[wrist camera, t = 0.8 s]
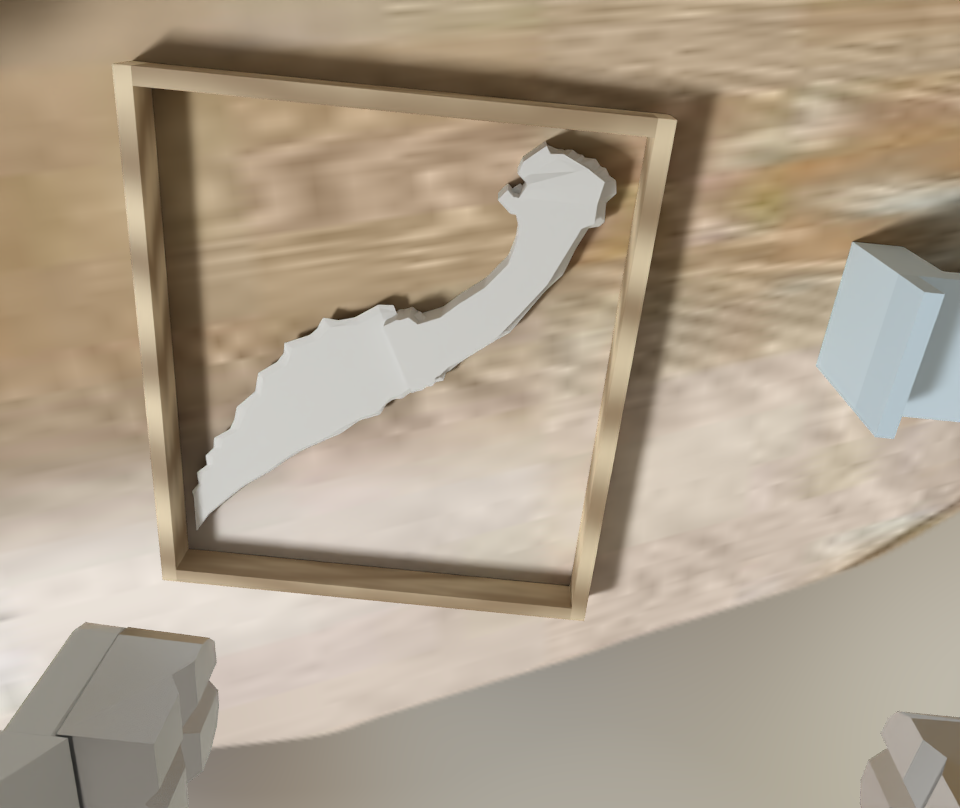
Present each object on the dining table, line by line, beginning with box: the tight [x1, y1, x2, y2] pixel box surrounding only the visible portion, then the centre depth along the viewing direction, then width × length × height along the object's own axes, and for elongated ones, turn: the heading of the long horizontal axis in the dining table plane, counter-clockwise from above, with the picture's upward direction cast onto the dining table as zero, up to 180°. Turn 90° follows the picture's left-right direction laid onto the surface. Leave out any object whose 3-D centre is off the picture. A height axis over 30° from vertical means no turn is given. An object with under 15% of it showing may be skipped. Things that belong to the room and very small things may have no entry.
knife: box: [192, 141, 616, 531], centre depth 52 cm, size 37×8×2 cm, turn 128°
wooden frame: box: [112, 61, 677, 621], centre depth 52 cm, size 34×30×2 cm
